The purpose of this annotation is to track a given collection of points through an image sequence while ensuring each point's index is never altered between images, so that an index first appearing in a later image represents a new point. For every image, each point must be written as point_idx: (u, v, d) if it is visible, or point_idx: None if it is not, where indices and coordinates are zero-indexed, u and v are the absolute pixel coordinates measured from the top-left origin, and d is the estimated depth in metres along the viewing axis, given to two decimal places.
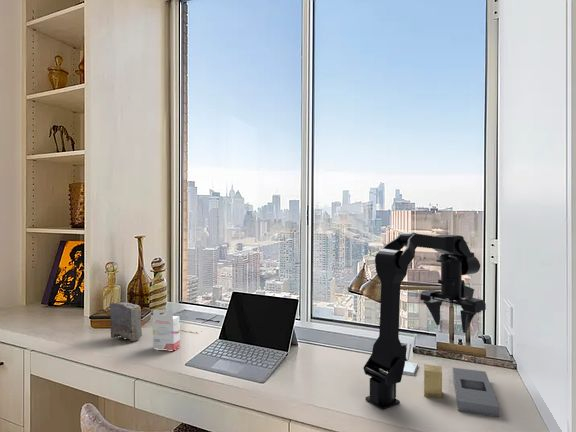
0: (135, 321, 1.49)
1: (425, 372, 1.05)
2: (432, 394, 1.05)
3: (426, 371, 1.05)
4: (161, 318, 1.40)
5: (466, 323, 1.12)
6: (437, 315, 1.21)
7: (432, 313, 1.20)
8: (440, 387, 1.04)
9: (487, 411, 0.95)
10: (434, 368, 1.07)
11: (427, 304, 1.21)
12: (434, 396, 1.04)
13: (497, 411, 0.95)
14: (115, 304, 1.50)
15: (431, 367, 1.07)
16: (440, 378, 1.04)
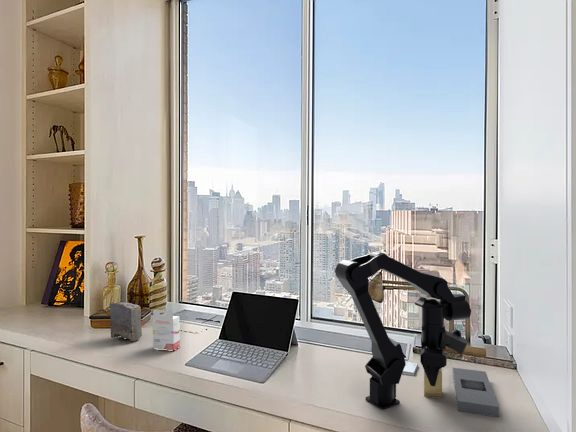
0: (135, 321, 1.49)
1: None
2: (432, 394, 1.05)
3: None
4: (161, 318, 1.40)
5: (428, 375, 1.02)
6: None
7: None
8: (440, 387, 1.04)
9: (487, 411, 0.95)
10: None
11: (421, 346, 1.13)
12: (434, 396, 1.04)
13: (497, 411, 0.95)
14: (115, 304, 1.50)
15: None
16: (440, 378, 1.04)
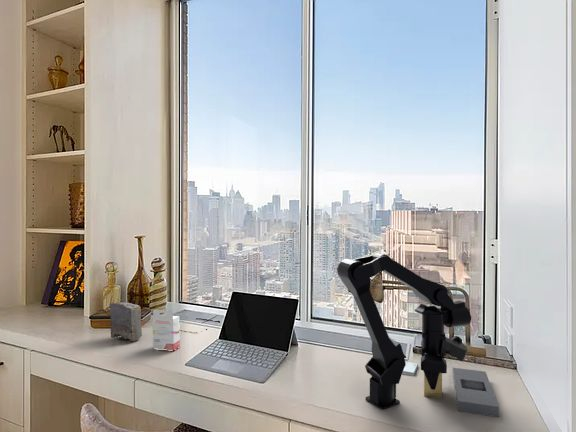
0: (135, 321, 1.49)
1: None
2: (432, 394, 1.05)
3: None
4: (161, 318, 1.40)
5: (429, 378, 1.04)
6: None
7: None
8: (440, 387, 1.04)
9: (487, 411, 0.95)
10: None
11: (422, 355, 1.11)
12: (434, 396, 1.04)
13: (497, 411, 0.95)
14: (115, 304, 1.50)
15: None
16: (440, 378, 1.04)
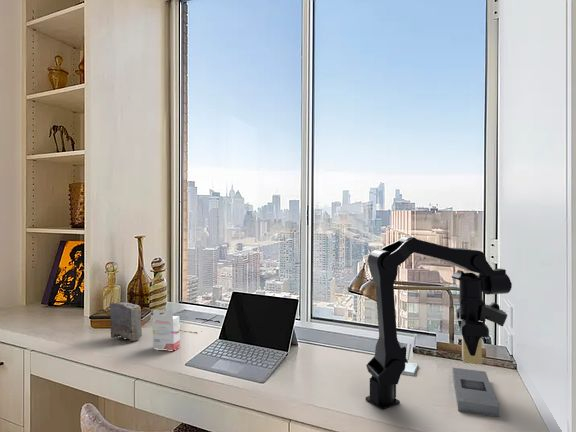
0: (135, 321, 1.49)
1: None
2: (472, 360, 1.04)
3: None
4: (161, 318, 1.40)
5: (468, 345, 1.03)
6: None
7: None
8: (480, 353, 1.04)
9: (487, 411, 0.95)
10: None
11: None
12: (474, 362, 1.04)
13: (497, 411, 0.95)
14: (115, 304, 1.50)
15: None
16: (480, 344, 1.04)
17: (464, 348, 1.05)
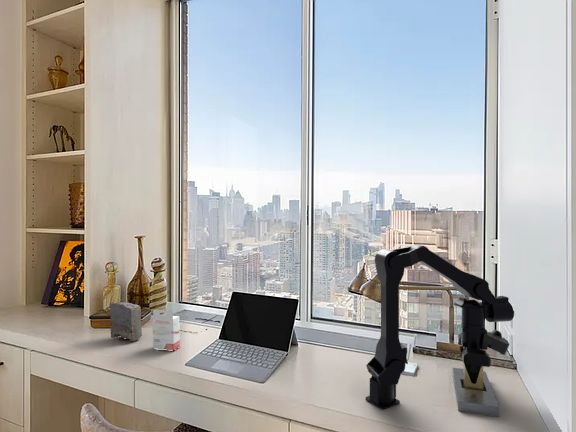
0: (135, 321, 1.49)
1: None
2: (473, 388, 1.04)
3: None
4: (161, 318, 1.40)
5: (470, 372, 1.03)
6: None
7: None
8: (481, 381, 1.04)
9: (487, 411, 0.95)
10: None
11: (460, 350, 1.11)
12: None
13: (497, 411, 0.95)
14: (115, 304, 1.50)
15: None
16: (481, 372, 1.04)
17: (465, 375, 1.05)
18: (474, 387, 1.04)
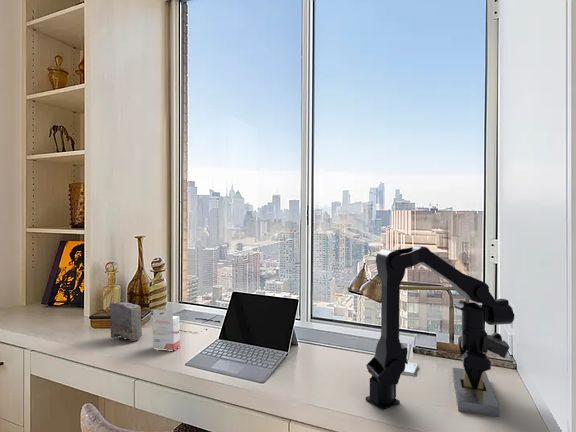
0: (135, 321, 1.49)
1: (466, 373, 1.05)
2: None
3: None
4: (161, 318, 1.40)
5: (471, 378, 1.02)
6: None
7: None
8: (481, 388, 1.04)
9: (487, 411, 0.95)
10: None
11: None
12: None
13: (497, 411, 0.95)
14: (115, 304, 1.50)
15: None
16: (481, 379, 1.04)
17: (465, 382, 1.05)
18: None
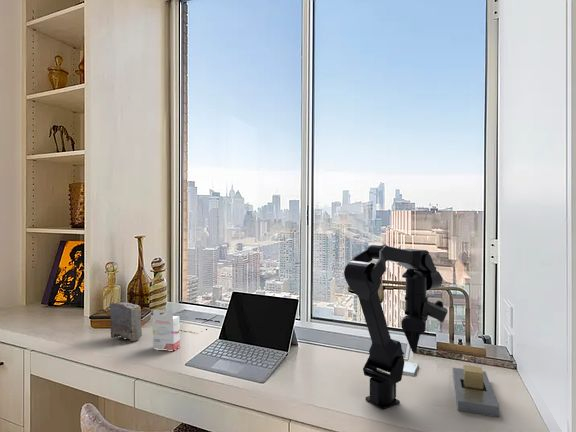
0: (135, 321, 1.49)
1: (466, 373, 1.05)
2: None
3: (467, 372, 1.05)
4: (161, 318, 1.40)
5: (410, 341, 1.08)
6: None
7: None
8: (481, 388, 1.04)
9: (487, 411, 0.95)
10: (474, 368, 1.06)
11: None
12: None
13: (497, 411, 0.95)
14: (115, 304, 1.50)
15: (471, 368, 1.07)
16: (481, 379, 1.04)
17: (465, 382, 1.05)
18: None
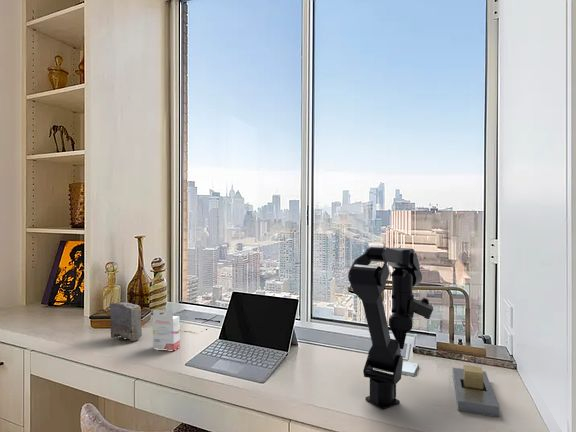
0: (135, 321, 1.49)
1: (466, 373, 1.05)
2: None
3: (467, 372, 1.05)
4: (161, 318, 1.40)
5: (397, 338, 1.10)
6: None
7: None
8: (481, 388, 1.04)
9: (487, 411, 0.95)
10: (474, 368, 1.06)
11: None
12: None
13: (497, 411, 0.95)
14: (115, 304, 1.50)
15: (471, 368, 1.07)
16: (481, 379, 1.04)
17: (465, 382, 1.05)
18: None
